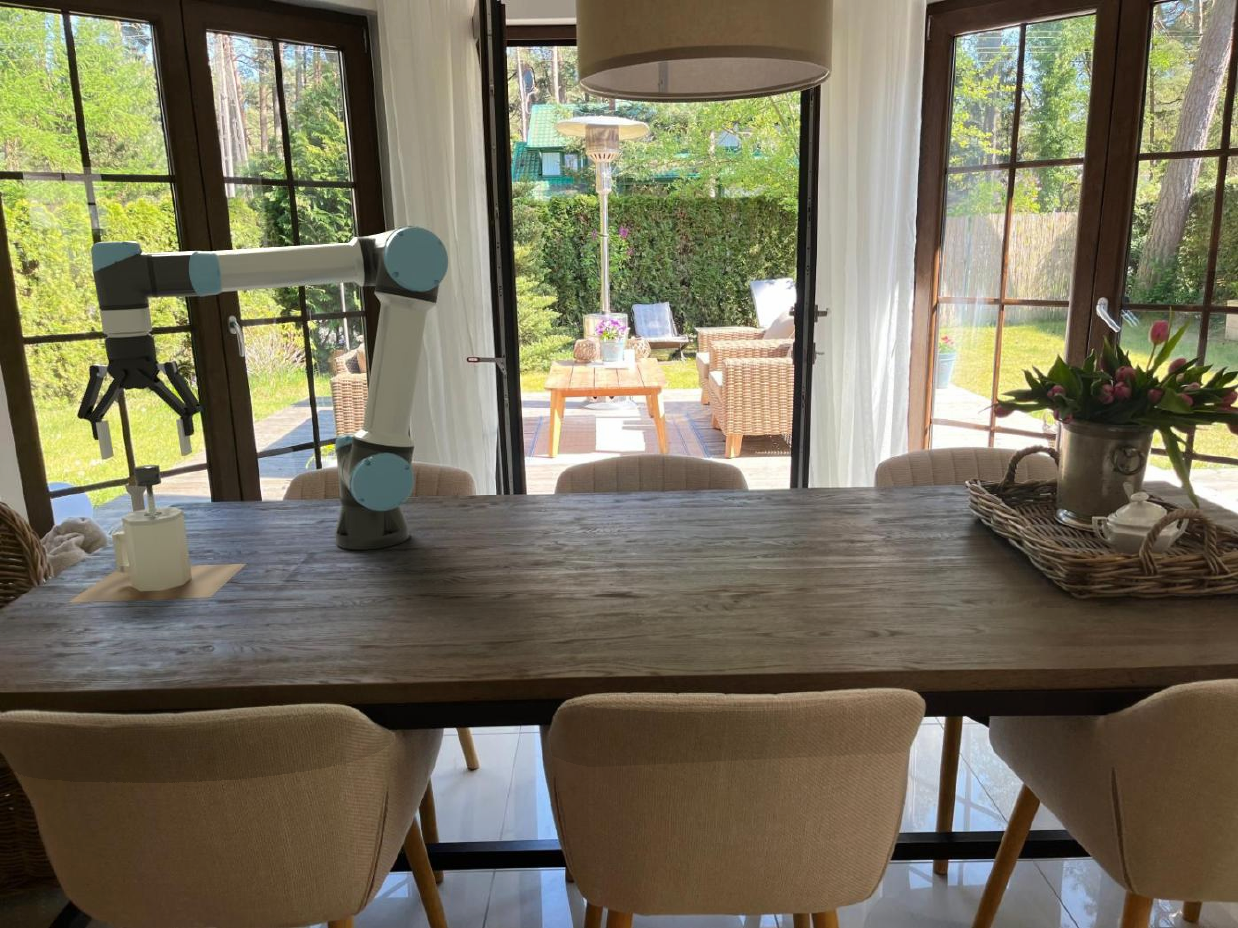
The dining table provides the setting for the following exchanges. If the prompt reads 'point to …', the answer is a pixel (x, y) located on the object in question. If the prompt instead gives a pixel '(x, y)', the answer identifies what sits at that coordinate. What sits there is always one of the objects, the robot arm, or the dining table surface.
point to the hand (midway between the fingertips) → (147, 456)
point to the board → (199, 586)
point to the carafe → (153, 549)
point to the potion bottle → (136, 494)
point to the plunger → (148, 482)
